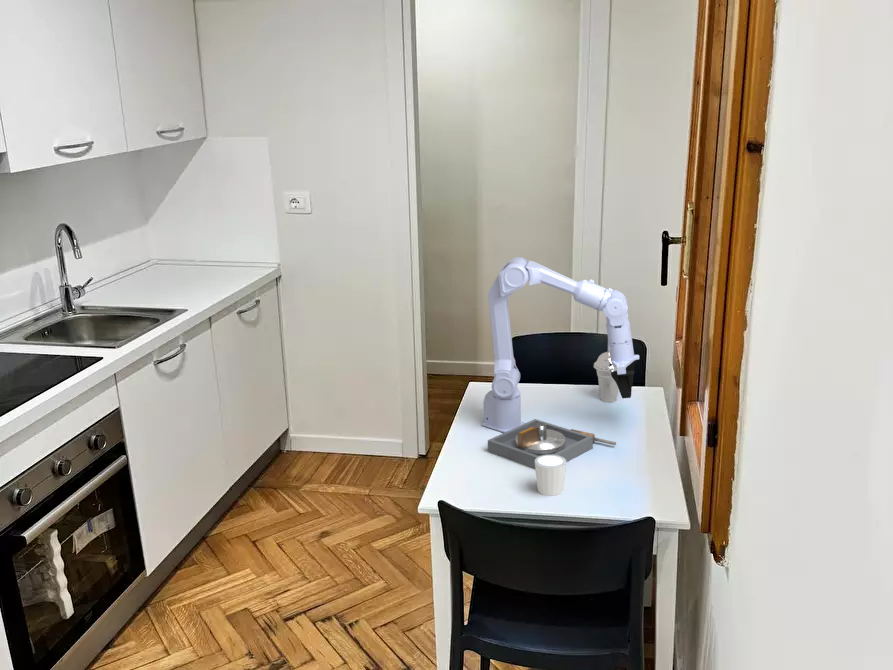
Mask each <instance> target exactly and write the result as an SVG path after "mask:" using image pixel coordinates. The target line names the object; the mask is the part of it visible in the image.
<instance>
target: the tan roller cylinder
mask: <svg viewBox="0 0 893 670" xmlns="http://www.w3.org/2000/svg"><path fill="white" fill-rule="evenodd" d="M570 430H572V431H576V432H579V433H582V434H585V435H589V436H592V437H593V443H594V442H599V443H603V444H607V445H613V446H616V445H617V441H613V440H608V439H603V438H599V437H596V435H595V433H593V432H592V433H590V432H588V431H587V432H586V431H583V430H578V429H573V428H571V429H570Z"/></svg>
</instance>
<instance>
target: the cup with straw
mask: <svg viewBox="0 0 893 670" xmlns="http://www.w3.org/2000/svg"><path fill="white" fill-rule="evenodd" d="M610 358H611V355H610V348H609V342H608V341H607V351H605V352H602V353H601V354H600V355H598V358H597V360H596V361H595V362H594V363H593V368H594V370H596V376H597V378H598V379H597V380H598V391H599V396H600V399H599V400H600V401H602V402H603V403H614V402H617V400H618V395H619V388H618V386H617V384H616V382H615V380H614V379H613V378H612V376H611V371H617V368H616V367H615V366H614V365H613V364H612V363H611V361H610Z"/></svg>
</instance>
